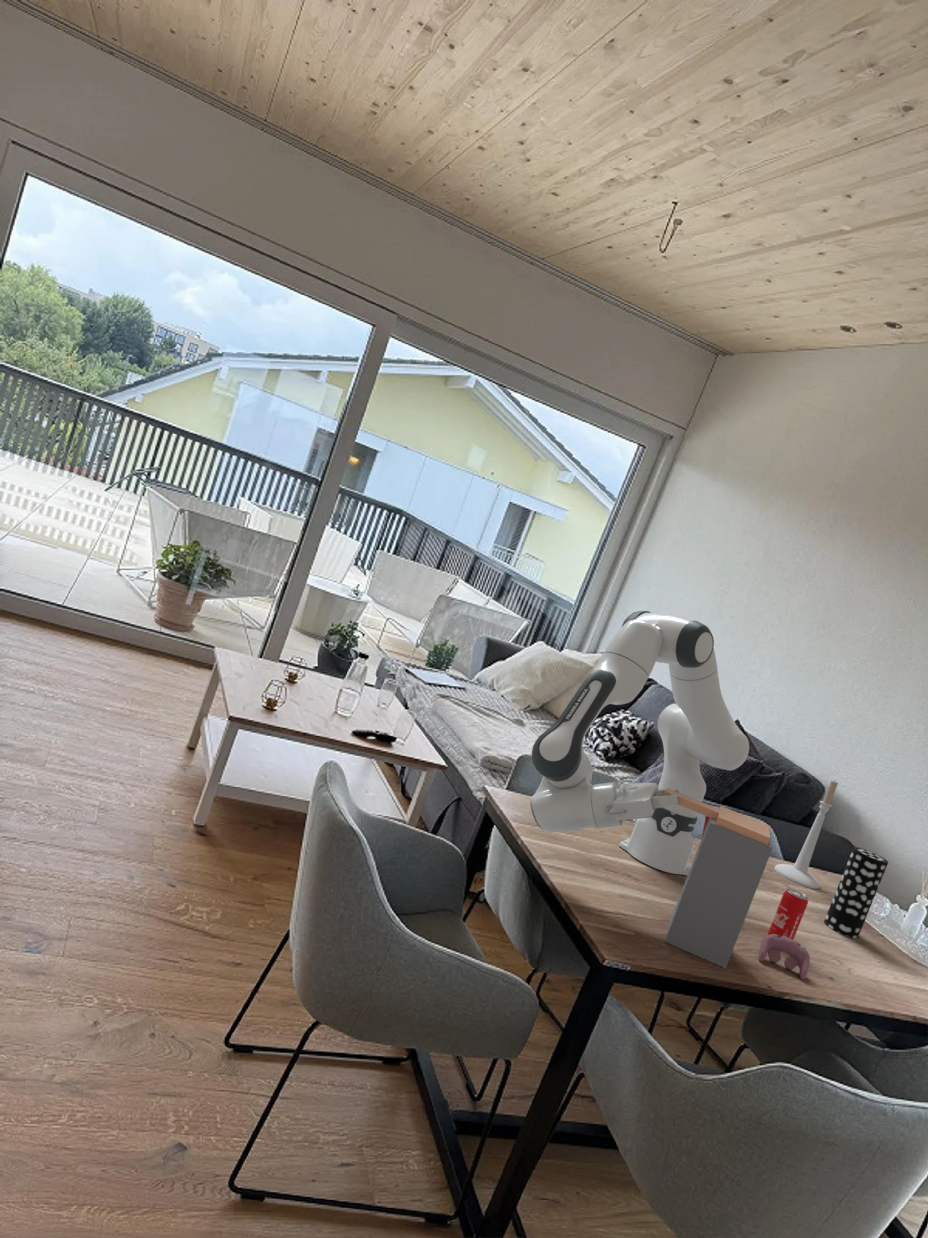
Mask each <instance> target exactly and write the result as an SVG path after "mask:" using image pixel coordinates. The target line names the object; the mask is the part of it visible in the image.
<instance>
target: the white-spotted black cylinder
mask: <svg viewBox="0 0 928 1238" xmlns="http://www.w3.org/2000/svg"><path fill="white" fill-rule="evenodd" d="M888 864H889V861H888V860H887V859H886V858H884V857H882V856H881V855H879V854H876V853H875V852H873V851H870V850H867V849H865V848H861V847H859V846H854V847H853V848H852V850H851V854H850V855H849V858H848V860H847V863H846V866H845V868H844V871H843V872H842V876H841V878H840V880H839V883H838V885H837V888H836V890H835V893H834V895H833V898H832V901H831V904H830V906H829V908H828V911H827V913H826V916H825V918H824V921H823V923H824V924H825V925H826V926H827V927H828V928H830V929H831V930H832V931H835V932H836V933H838V934H841V935H843V936H845V937H849V938H851V939H852V938H853V939H858V938H859V937H860V934H861V931H862V929H863V927H864V925H865V921H866V919H867V918H868V914H869V912H870V909H871V907H872V905H873V902H874V899H875V896H876V894H877V892H878V889H879V887H880V884H881V882H882V880H883V877H884V874H885V871H886V869H887V867H888Z"/></svg>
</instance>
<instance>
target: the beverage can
mask: <svg viewBox="0 0 928 1238" xmlns="http://www.w3.org/2000/svg"><path fill="white" fill-rule="evenodd" d="M808 903H809V897H808V896H807V895H806V894H804V893H802V892H800V891H798V890H796V889H793V888H788V887H787V888H786V889H785V890H784V891H783V893H782V896H781V898H780V902H779V903H778V906H777V909H776V912H775V914H774V917H773V919H772V922H771V924H770V927H769V930H768V932H767V935H772V934H776V935H781V936H785V937H788V938H790V939H792V940H794V938H795V937H796V934H797V932H798V929H799V926H800V924H801V921H802V920H803V917H804V915H805V913H806V912H805V911H806V909H807V906H808Z"/></svg>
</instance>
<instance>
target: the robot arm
mask: <svg viewBox="0 0 928 1238" xmlns="http://www.w3.org/2000/svg"><path fill="white" fill-rule="evenodd" d="M714 641H715V640H714V636H713V633H712V631H711V629H710V628H709V627H708V626H707V625H705V624H703V623H702V622H700V621H697V620H690V619H687V618H685V617H682V616H678V615H674V614H666V613H658V612H651V611H648V610H639V611H634V612H632V613H630V614H629V615H628V616H627V617H626V618H625V620H624V621H623V623H622V625H621V628H620V629H618V631H617V632H616V633H615V635H614V636H613V638H612V639H611V640H610V642H609V643H608V644H607V646H606V648H605V650H604V651H603V653H602V655H601V657H600V658H599V660H598V662H597V663H596V665H595V667H594V669H593V670H592V671H591V673H589V675H588V676H587V677H586V678H585V679H584V681H583V682H582V684H581V685H580V686H579V687H578V689H577V690H576V691H575V694H574V695H573V697H572V698H571V700H570V701H569V702H568V703H567V705H566V707H565V709H564V710H563V711H562V713H561V714H560V716H559V717H558V719H557V720H556V721H555V722H554V723H553V724H552V725H551V726H550V727H548V728H547V729H546V730H545V731H544V732H543V733H542V734H540V735H539V736H538V737H537V739H535V741H534V743H533V746H532V749H531V761H532V765H533V766H534V768H535V770H536V771H537V772H538V773H539V774H540V775H542V779H541V782H540V784H539V786H538V788H537V789H536V791H535V793H534V794H533V795H532V796H531V797H530V809H531V813H532V816H533V818H534V821H535V823H536V825H537V826H538V827H539V828H540V829H541V830H542V831H544V832H545V833H546V832H547V833H570V832H579V831H581V830H584V829H587V828H588V829H589V828H592V829H605V828H613V827H621V826H623V822H624V821H627V820H629V821H630V820H636V821H635V824H634V827H633V830H632V831H631V834H630V837H628V838H626V839H625V840H622V841H620V842H619V845H618V846H619V847H620V848H622V849H623V850H625V851H626V852H628V853H629V855H631V856H632V857H633V858H635V859H636V860H638V861H640V862H641V863H644V864H645V865H648V866H649V867H652V868H654V869H656V870H660V871H662V872H665V873H669V874H674V875H683V876H686V877H687V876H688V873H689V871H690V868H691V865H690V863H689V861H690V859H691V856H692V853H693V849H694V847H695V844H696V842H695V839H694V837H693V835H692V833H693V832H694V829H695V828H696V825H697V821H698V814H699V813H698V812H695V811H693V810H690V809H688V808H685V807H683V806H681V805H678V804H677V803H678V796H677V794H670V795H666V796H663V795H664V793H665V790H666V788H668V789H671V790H673V791H676V792H678V793H681V794H683V795H686V796H688V797H691V798H693V799H696V800H698V801H700V802H703V800H704V797H705V795H706V792H707V784H706V782H705V780H704V778H703V775H702V773H701V767H700V761H701V762H703V763H705V764H706V765H709V766H710V767H713V768H716V769H719V770H720V769H721V770H725V771H735V770H737V769H738V768H739V767H741V766H742V765H743V764H744V763H745V762H746V760H747V758H748V756H749V752H750V742H749V739H748V737H747V736H746V735H745V734H744V733H743V732H742V730H741V729H740V728H739V726H738V724H736V722H735V720H734V718H733V717H732V715H731V714H730V711H729V709H728V707H727V704H726V702H725V700H724V697H723V695H722V691H721V686H720V685H721V684H720V679H719V672H718V663H717V657H716V653H715V648H714V646H715V642H714ZM656 663H660V664H662V663H664V664H668V669H669V677H670V683H671V689H672V690H671V691H672V697H673V701H674V702H675V703H671V704H669V705H668V706H666V707H665V708H664V709H663V710H662V711H661V713H660V714H659V716H658V719H657V731H658V734H659V735H660V738H661V741H662V746H663V755H664V756H663V758H664V759H663V760H664V761H663V768H662V774H661V777H660V780H659V783H655V782H635V783H624V784H622V782H621V781H613V782H612V781H611V782H610V781H609V782H604V783H596V784H595V783H594V784H593V765H592V762H591V761H590V759H589V756H588V755H587V754H586V753H585V751H584V750H583V742H584V739H585V736H586V734H587V733H588V732H589V730H590V729H591V728H592V725H594V722H595V721H596V719H597V717H598V716H599V714H601V712H602V710H603V709H605V707H607V706H608V705H615V706H619V705H625V704H629V703H631V702H632V701H633V700H634V699H635V698H636V697H637V696H638V695H639V694H640V692H641V691H642V690H643V688H644V686H645V685H646V682H647V681H648V678H649V677H650V675H651V674H652V671H653V669H654V666H655V665H656Z"/></svg>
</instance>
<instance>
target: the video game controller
mask: <svg viewBox="0 0 928 1238" xmlns="http://www.w3.org/2000/svg"><path fill="white" fill-rule="evenodd" d="M781 952H784V953H785V954H787V955H789V956H788V957H786V958H785V960H784V967H785V969H787V970H790V971H793V970H795V969H796V968H797V967H798V968H799V977H800V980H801V981H803V980H806V978H807V976H808V973H809V968H810V960H811V959H810V958H811V957H810V954H809V951H808V950H807V948H806V946H803V945H802V944H800V943H799V942H798V941H796V940H792V939H790V938H788V937H785V936H781V935H776V934H772V935H768V934H767V935H766V936H764V938H763V939H762V941H761V943H760V947H759V950H758V960H759V962H760V963H761V962H763V961H765V959H766V958H767V955H768V959H769V961H770V962H771V963H775V964H777V963H779V962H780V961H781V959H782V954H781Z"/></svg>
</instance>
